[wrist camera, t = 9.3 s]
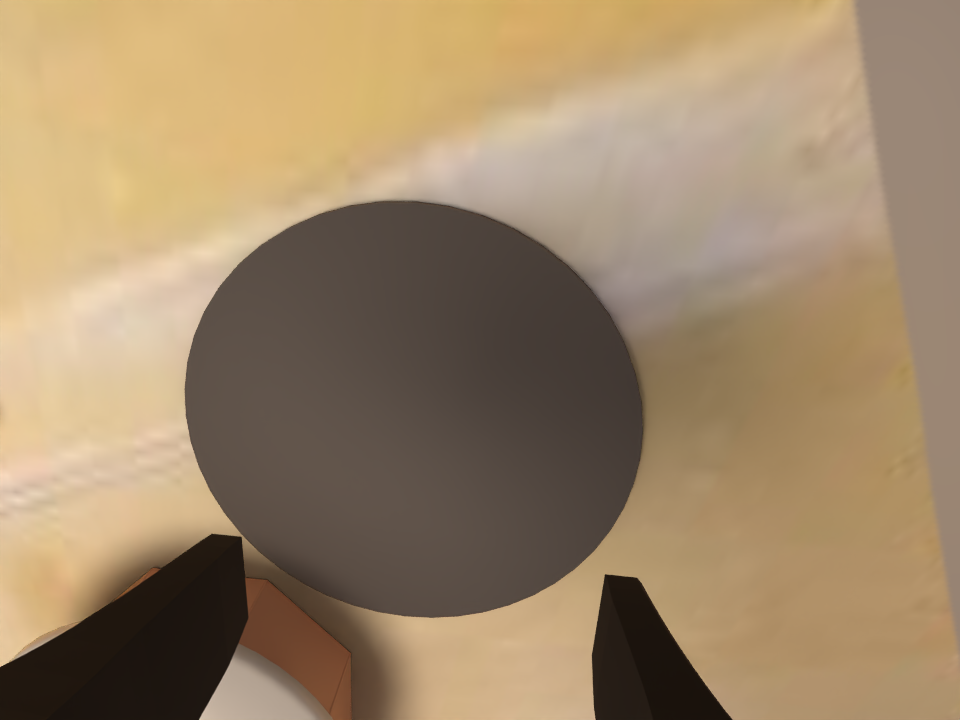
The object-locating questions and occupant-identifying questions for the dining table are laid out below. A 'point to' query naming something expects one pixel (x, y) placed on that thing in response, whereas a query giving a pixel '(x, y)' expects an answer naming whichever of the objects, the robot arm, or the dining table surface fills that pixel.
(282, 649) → the bowl
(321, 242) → the mat
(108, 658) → the robot arm
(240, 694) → the lid
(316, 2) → the dining table surface
